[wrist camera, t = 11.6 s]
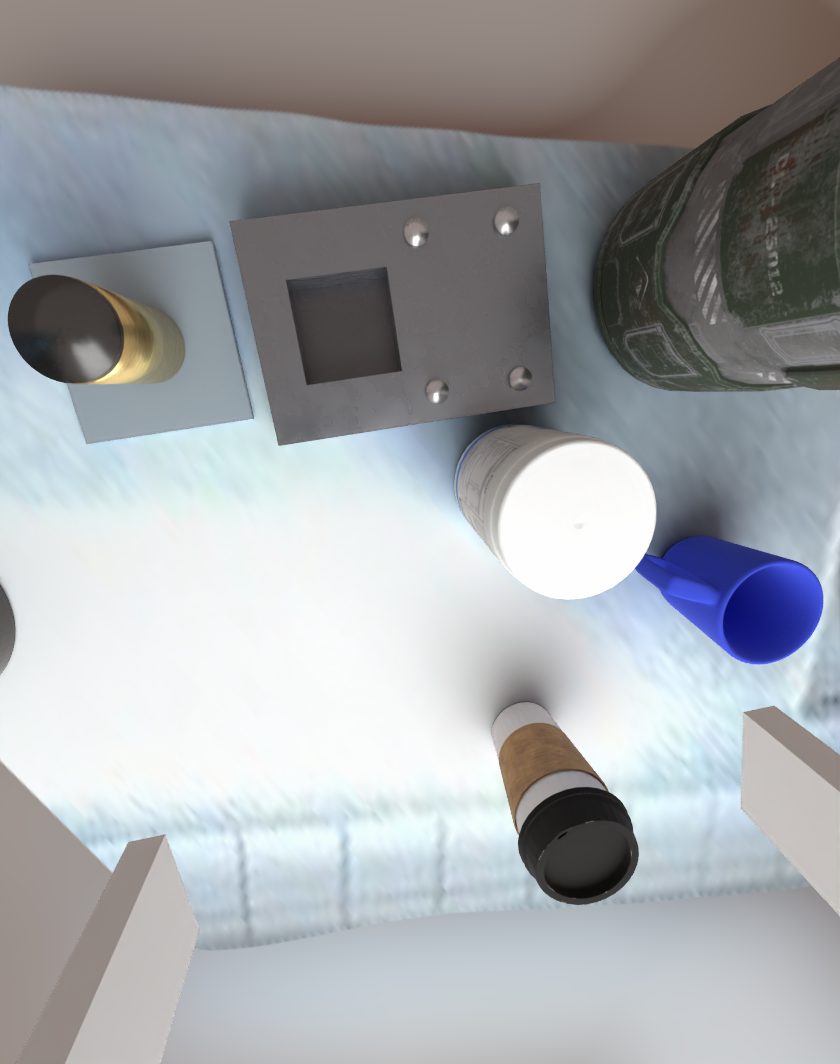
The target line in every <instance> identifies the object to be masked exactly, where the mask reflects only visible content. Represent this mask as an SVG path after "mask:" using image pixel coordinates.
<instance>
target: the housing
mask: <svg viewBox="0 0 840 1064" xmlns="http://www.w3.org/2000/svg"><path fill="white" fill-rule="evenodd" d="M229 222H230V226H231V231H232V235H233V240H234V244H235V249H236V254H237V258H238V263H239V267H240V272H241V276H242V281H243V285H244V290H245V295H246V299H247V304H248V308H249V313H250V317H251V322H252V327H253V331H254V336H255V340H256V345H257V349H258V354H259V358H260V363H261V368H262V372H263V377H264V381H265V386H266V390H267V395H268V399H269V404H270V409H271V413H272V418H273V422H274V427H275V431H276V436H277V441H278V445H279V446H280V445H287V444H293V443H299V442H306V441H312V440H319V439H325V438H331V437H338V436H344V435H350V434H357V433H363V432H370V431H376V430H382V429H389V428H395V427H401V426H408V425H414V424H421V423H427V422H433V421H440V420H446V419H452V418H459V417H465V416H471V415H478V414H484V413H491V412H497V411H503V410H510V409H516V408H522V407H529V406H535V405H542V404H548V403H554V402H555V392H554V378H553V364H552V349H551V335H550V321H549V307H548V293H547V278H546V264H545V250H544V236H543V222H542V207H541V193H540V183H537V184H528V185H520V186H512V187H504V188H496V189H488V190H480V191H472V192H464V193H456V194H447V195H439V196H431V197H423V198H415V199H407V200H399V201H391V202H383V203H374V204H366V205H358V206H350V207H342V208H334V209H326V210H318V211H310V212H301V213H293V214H285V215H277V216H269V217H261V218H253V219H245V220H237V221H229Z"/></svg>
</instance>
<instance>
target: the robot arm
mask: <svg viewBox="0 0 840 1064" xmlns="http://www.w3.org/2000/svg"><path fill="white" fill-rule="evenodd" d="M14 641H15V623H14V617H13V613H12V610H11V607H10V604H9V601H8V599H7V597H6V595H5V593H4V591H3V590H2V588H1V586H0V675H1V673H2V672H3V670H4V669H5V667H6V666H7V664H8V662H9V660H10V657H11V654H12V651H13V647H14ZM741 809H742V810H743V811H744V812H745V813H746V815H747V816H748V817H749V818H750V819H751V820H752V821H753V822H754V823H755V824H756V825H757V826H758V828H759V829H760V830H761V831H762V832H763V833H764V834H765V835H766V836H767V837H768V838H769V839H770V841H771V842H772V843H773V844H774V845H775V846H776V847H777V848H778V849H779V850H780V851H781V852H782V854H783V855H784V856H785V857H786V858H787V859H788V860H789V861H790V862H791V863H792V864H793V866H794V867H795V868H796V869H797V870H798V871H799V872H800V873H801V874H802V875H803V876H804V877H805V879H806V880H807V881H808V882H809V883H810V884H811V885H812V886H813V887H814V888H815V889H816V890H817V892H818V893H819V894H820V895H821V896H822V897H823V898H824V899H825V900H826V901H827V902H828V904H830V905H831V907H832V908H833V909H834V910H835V911H836V912H837V913H838V914H839V915H840V755H839V754H838V753H837V752H835V751H834V750H833V749H831V748H830V747H829V746H827V745H826V744H825V743H823V742H822V741H821V740H819V739H818V738H817V737H815V736H814V735H813V734H811V733H810V732H809V731H807V730H806V729H805V728H803V727H802V726H801V725H799V724H798V723H797V722H795V721H794V720H793V719H791V718H790V717H789V716H787V715H786V714H785V713H783V712H782V711H781V710H779V709H778V708H777V707H775V706H771V707H766V708H761V709H757V710H752V711H747V712H743V744H742V782H741ZM199 931H200V930H199V927H198V924H197V922H196V919H195V916H194V913H193V910H192V908H191V905H190V902H189V899H188V896H187V894H186V891H185V888H184V885H183V882H182V880H181V877H180V874H179V871H178V868H177V866H176V863H175V860H174V857H173V855H172V852H171V849H170V846H169V843H168V841H167V838H166V835H160V836H156V837H151V838H146V839H142V840H137V841H132V842H128V844H127V846H126V848H125V850H124V852H123V854H122V856H121V858H120V860H119V862H118V864H117V866H116V868H115V870H114V872H113V874H112V876H111V878H110V880H109V882H108V883H107V885H106V887H105V889H104V891H103V893H102V895H101V897H100V899H99V901H98V903H97V905H96V907H95V909H94V911H93V913H92V915H91V917H90V919H89V921H88V923H87V924H86V926H85V928H84V930H83V932H82V934H81V936H80V938H79V940H78V942H77V944H76V946H75V948H74V950H73V952H72V954H71V956H70V958H69V960H68V961H67V964H66V965H65V967H64V969H63V971H62V974H61V975H60V977H59V979H58V981H57V983H56V985H55V987H54V989H53V991H52V993H51V995H50V997H49V999H48V1001H47V1003H46V1004H45V1007H44V1008H43V1010H42V1012H41V1014H40V1016H39V1018H38V1020H37V1022H36V1024H35V1026H34V1028H33V1030H32V1032H31V1034H30V1036H29V1038H28V1040H27V1042H26V1044H25V1046H24V1047H23V1049H22V1051H21V1053H20V1055H19V1057H18V1059H17V1061H16V1063H15V1064H160V1062H161V1059H162V1055H163V1052H164V1049H165V1045H166V1042H167V1039H168V1035H169V1032H170V1029H171V1025H172V1022H173V1018H174V1015H175V1012H176V1008H177V1005H178V1002H179V998H180V995H181V991H182V988H183V984H184V981H185V978H186V975H187V971H188V968H189V964H190V961H191V958H192V954H193V951H194V948H195V944H196V941H197V937H198V934H199Z"/></svg>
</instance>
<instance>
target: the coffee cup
mask: <svg viewBox="0 0 840 1064" xmlns="http://www.w3.org/2000/svg"><path fill="white" fill-rule="evenodd" d="M492 738H493V742H494V746H495V749H496V753H497V756H498V760H499V765H500V769H501V773H502V777H503V782H504V786H505V790H506V794H507V798H508V802H509V806H510V810H511V814H512V818H513V822H514V826H515V829H516V831H517V833H518V835H519V839H518V848H519V854H520V856H521V859H522V861H523V863H524V864H525V867H526V868H527V870H528V871H529V873H530V874H531V875H532V876H533V877H534V878H535V879H536V881H537V883H538V885H539V886H540V888H541V889H542V890H543V891H544V892H545V893H546V894H547V895H548V896H550V897H551V898H553V899H555V900H557V901H560V902H563V903H566V904H574V905H582V904H590V903H595V902H598V901H601V900H603V899H606V898H608V897H609V896H611V895H613V894H615V893H616V892H617V891H619V890H620V889H621V888H622V887H623V886H624V885H625V884H626V883H627V882H628V881H629V879H630V878H631V876H632V875H633V873H634V871H635V868H636V866H637V863H638V857H639V851H638V844H637V841H636V838H635V836H634V833H633V826H632V823H631V819H630V817H629V815H628V813H627V810H626V808H625V806H624V805H623V803H622V802H621V801H620V800H619V799H618V798H617V797H616V796H614V795H613V794H611V793H609V792H608V789H607V787H606V785H605V784H604V782H603V781H602V780H601V778H600V777H599V776H598V775H597V773H596V772H595V771H594V770H593V768H592V767H591V766H590V765H589V763H588V762H587V761H586V760H585V758H584V757H583V756H582V755H581V753H580V752H579V751H578V750H577V748H576V747H575V746H574V745H573V743H572V742H571V741H570V740H569V738H568V737H567V736H566V735H565V734H564V733H563V732H562V730H561V729H560V728H559V726H558V725H557V724H556V722H555V721H554V720H553V718H552V717H551V716H550V714H549V713H548V712H547V711H546V710H545V709H544V708H543V707H541V706H540V705H538V704H535V703H530V702H521V703H516V704H514V705H511V706H509V707H507V708H506V709H504V710H503V711H502V712H501V713H500V714H499V715H498V717H497V718H496V720H495V722H494V724H493V727H492Z"/></svg>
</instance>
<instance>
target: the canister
mask: <svg viewBox="0 0 840 1064" xmlns="http://www.w3.org/2000/svg"><path fill="white" fill-rule="evenodd" d="M594 304H595V313H596V318H597V322H598V325H599V328H600V332H601V335H602V337H603V339H604V341H605V343H606V345H607V347H608V349H609V351H610V353H611V354H612V355H613V356H614V358H615V359H616V360H617V361H618V363H619V364H620V365H621V366H622V367H623V369H624V370H626V371H627V372H628V373H629V374H631V375H632V376H633V377H635V378H636V379H637V380H639V381H641V382H644V383H646V384H648V385H650V386H652V387H655V388H660V389H665V390H669V391H769V390H778V389H787V388H796V387H808V388H812V389H817V390H840V58H838V59H837V60H835V61H834V62H832V63H831V64H829V65H828V66H827V67H825V68H824V69H822V70H821V71H819V72H818V73H817V74H815V75H814V76H812V77H811V78H809V79H808V80H807V81H805V82H804V83H802V84H801V85H799V86H798V87H796V88H795V89H794V90H792V91H791V92H789V93H788V94H786V95H785V96H783V97H782V98H780V99H779V100H778V101H776V102H775V103H773V104H772V105H769V106H766V107H764V108H761V109H759V110H756V111H754V112H751V113H749V114H746V115H744V116H741V117H740V118H739V119H737V120H736V121H734V122H733V123H731V124H730V125H728V126H727V127H725V128H724V129H723V130H721V131H720V132H718V133H717V134H715V135H714V136H713V137H711V138H710V139H708V140H707V141H706V142H704V143H703V144H702V145H700V146H699V147H697V148H696V149H694V150H693V151H692V152H690V153H689V154H688V155H686V156H685V157H683V158H682V159H681V160H679V161H678V162H676V163H675V164H674V165H672V166H671V167H669V168H668V169H667V170H665V171H664V172H663V173H661V174H660V175H658V176H657V177H656V178H654V179H653V180H651V181H650V182H649V183H648V184H647V185H646V186H645V187H644V188H642V189H641V190H639V191H638V192H637V193H636V194H635V195H634V196H633V197H632V198H631V199H630V200H629V201H628V202H627V203H626V204H625V205H624V206H623V207H622V209H621V210H620V212H619V214H618V215H617V217H616V218H615V220H614V221H613V223H612V224H611V226H610V227H609V230H608V232H607V234H606V237H605V239H604V241H603V244H602V246H601V248H600V252H599V256H598V260H597V264H596V268H595V280H594Z"/></svg>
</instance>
